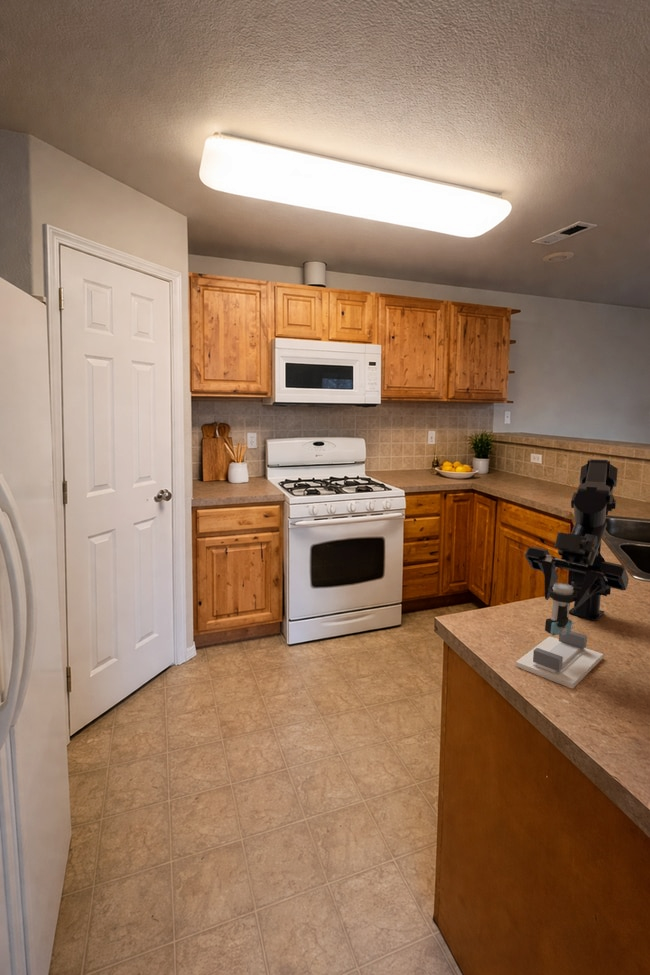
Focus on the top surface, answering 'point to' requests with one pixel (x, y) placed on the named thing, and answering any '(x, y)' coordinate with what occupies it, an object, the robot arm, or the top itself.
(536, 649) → the rail board
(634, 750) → the top surface
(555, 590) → the push button
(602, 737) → the top surface
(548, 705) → the top surface
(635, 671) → the top surface
